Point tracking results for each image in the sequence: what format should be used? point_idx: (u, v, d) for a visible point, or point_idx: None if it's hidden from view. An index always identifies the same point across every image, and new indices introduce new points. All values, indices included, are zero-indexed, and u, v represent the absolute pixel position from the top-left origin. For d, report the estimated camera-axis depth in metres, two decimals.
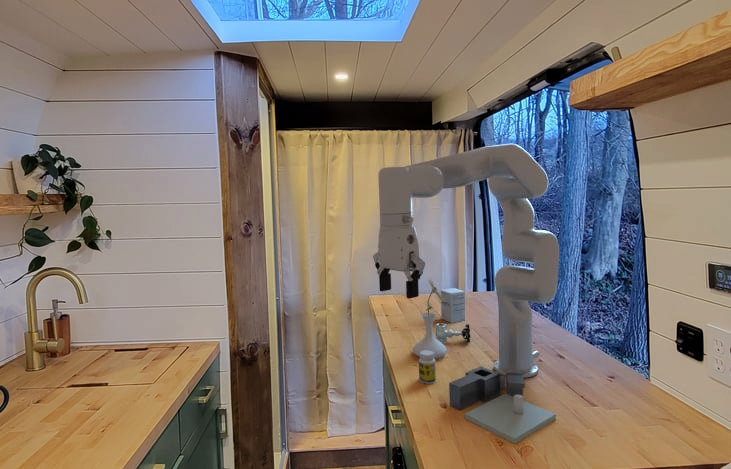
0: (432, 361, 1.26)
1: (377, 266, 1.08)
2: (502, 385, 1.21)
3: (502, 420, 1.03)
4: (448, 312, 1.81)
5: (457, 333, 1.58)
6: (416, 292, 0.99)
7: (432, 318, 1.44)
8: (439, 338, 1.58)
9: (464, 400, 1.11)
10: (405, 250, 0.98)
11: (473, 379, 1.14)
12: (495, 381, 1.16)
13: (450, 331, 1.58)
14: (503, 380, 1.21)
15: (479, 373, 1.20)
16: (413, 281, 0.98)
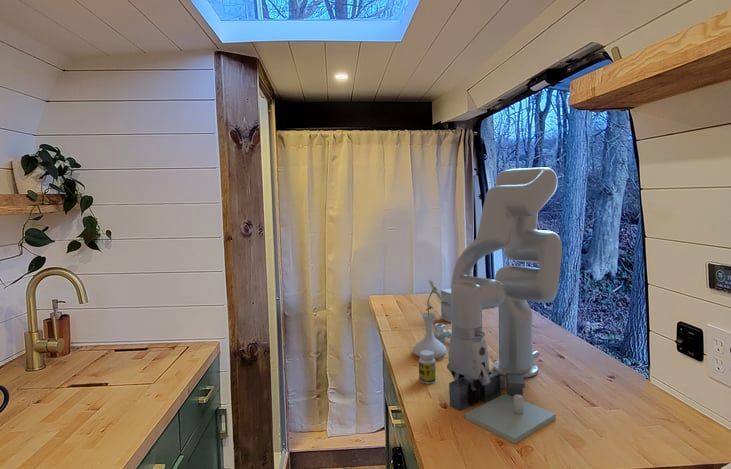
0: (432, 361, 1.26)
1: (454, 374, 1.17)
2: (502, 385, 1.21)
3: (502, 420, 1.03)
4: (448, 312, 1.81)
5: None
6: (478, 399, 1.12)
7: (432, 318, 1.44)
8: (437, 338, 1.58)
9: (464, 400, 1.11)
10: (477, 362, 1.09)
11: None
12: (495, 381, 1.16)
13: (448, 331, 1.58)
14: (503, 380, 1.21)
15: None
16: (476, 390, 1.12)
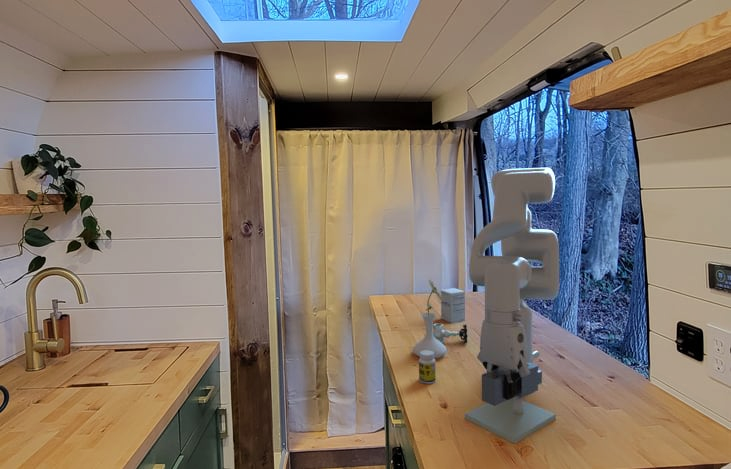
0: (432, 361, 1.26)
1: (486, 366, 1.03)
2: (539, 379, 1.07)
3: (502, 420, 1.03)
4: (448, 312, 1.81)
5: (454, 333, 1.57)
6: (514, 393, 0.99)
7: (432, 318, 1.44)
8: (436, 338, 1.58)
9: (499, 395, 0.98)
10: (516, 350, 0.96)
11: None
12: (532, 374, 1.03)
13: (447, 331, 1.58)
14: (540, 374, 1.07)
15: None
16: (512, 383, 0.98)
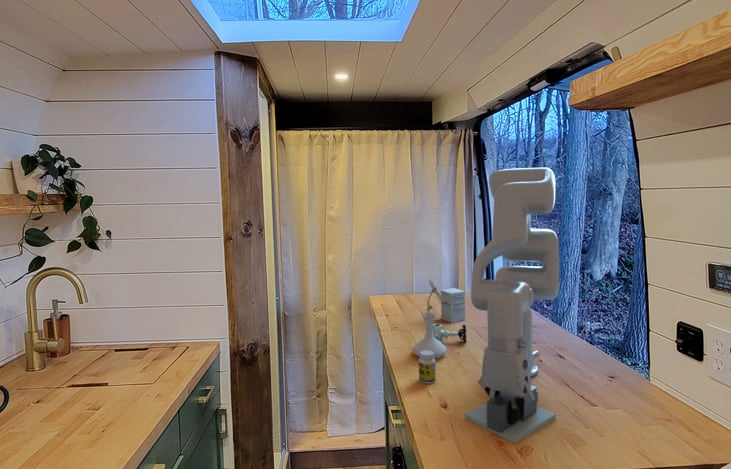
0: (432, 361, 1.26)
1: (488, 391, 1.04)
2: None
3: None
4: (448, 312, 1.81)
5: (453, 333, 1.57)
6: (518, 418, 1.00)
7: (432, 318, 1.44)
8: None
9: (505, 421, 0.98)
10: (521, 377, 0.96)
11: None
12: None
13: (446, 331, 1.57)
14: None
15: None
16: (517, 408, 0.99)
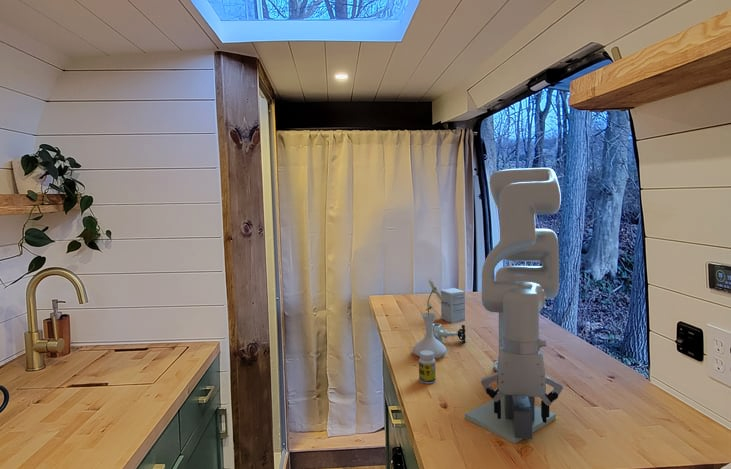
0: (432, 361, 1.26)
1: (490, 392, 1.00)
2: None
3: (502, 420, 1.03)
4: (448, 312, 1.81)
5: (452, 333, 1.57)
6: None
7: (432, 318, 1.44)
8: None
9: None
10: (544, 376, 0.96)
11: (525, 399, 1.00)
12: None
13: (445, 331, 1.57)
14: None
15: None
16: None
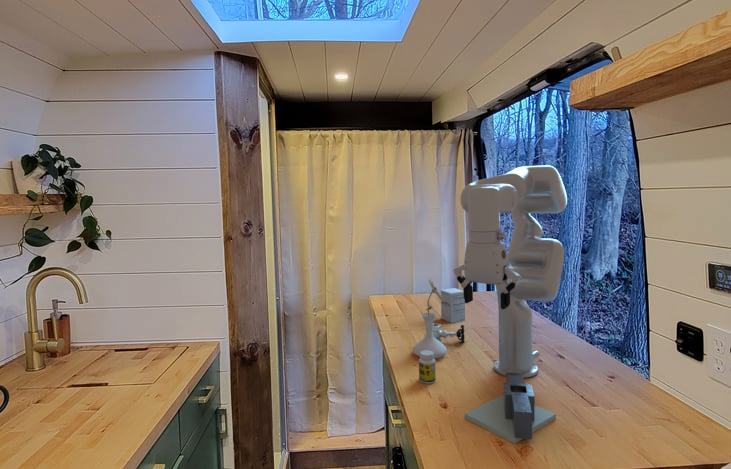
0: (432, 361, 1.26)
1: (460, 279, 1.14)
2: None
3: (502, 420, 1.03)
4: (448, 312, 1.81)
5: (452, 334, 1.57)
6: (509, 303, 1.07)
7: (432, 318, 1.44)
8: None
9: None
10: (500, 265, 1.05)
11: (525, 399, 1.00)
12: None
13: (444, 331, 1.57)
14: None
15: None
16: (507, 293, 1.06)
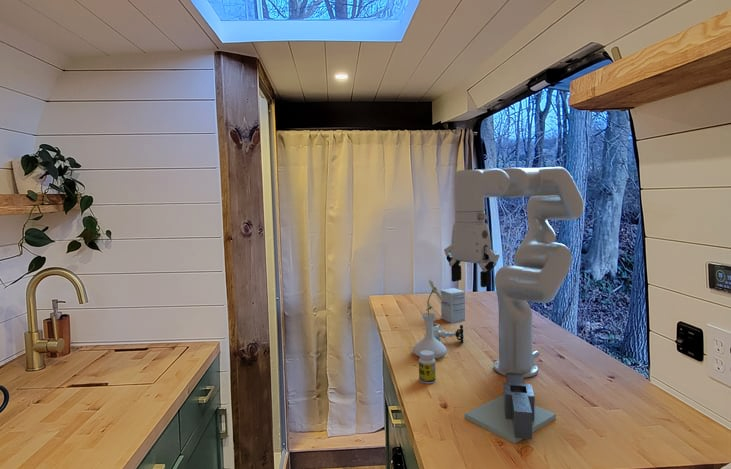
0: (432, 361, 1.26)
1: (449, 259, 1.20)
2: None
3: (502, 420, 1.03)
4: (448, 312, 1.81)
5: (451, 334, 1.57)
6: (489, 281, 1.11)
7: (432, 318, 1.44)
8: None
9: None
10: (480, 244, 1.10)
11: (525, 399, 1.00)
12: None
13: (443, 331, 1.57)
14: None
15: None
16: (487, 271, 1.10)
